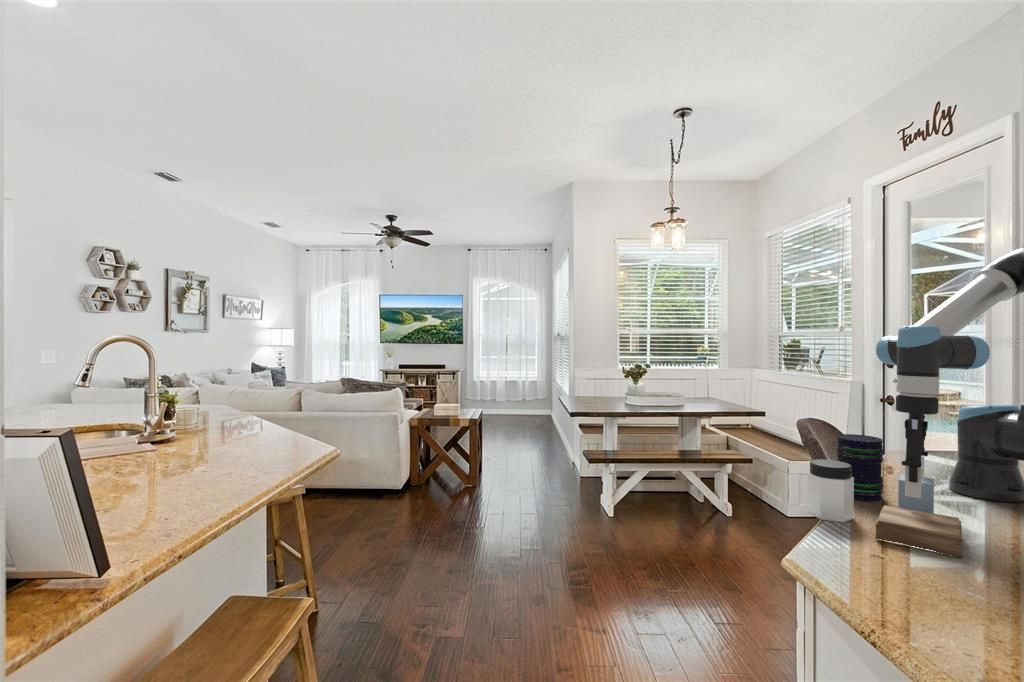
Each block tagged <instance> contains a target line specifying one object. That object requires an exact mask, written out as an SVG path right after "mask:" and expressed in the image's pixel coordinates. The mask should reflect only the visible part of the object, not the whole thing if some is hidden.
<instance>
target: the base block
mask: <svg viewBox="0 0 1024 682" xmlns="http://www.w3.org/2000/svg"><path fill="white" fill-rule="evenodd" d="M962 534H963V533H962V521H961V520H960V518H959V517H954V516H948V515H943V514H937V513H934V514H933V513H927V512H921V511H916V510H910V509H904V508H898V507H897V506H892V505H888V504H887V505H886V504H884V505H883V506H881V511H880V513H879V515H878V517H877V520H876V522H875V540H876V539H882V540H887V541H892V542H898V543H903V544H907V545H910V546H915V547H919V548H923V549H929V550H933V551H936V552H939V553H943V554H947V555H946V556H948V555H952V556H957V557H963V536H962ZM943 554H942V555H943ZM952 556H951V557H952ZM957 557H956V558H957Z"/></svg>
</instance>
